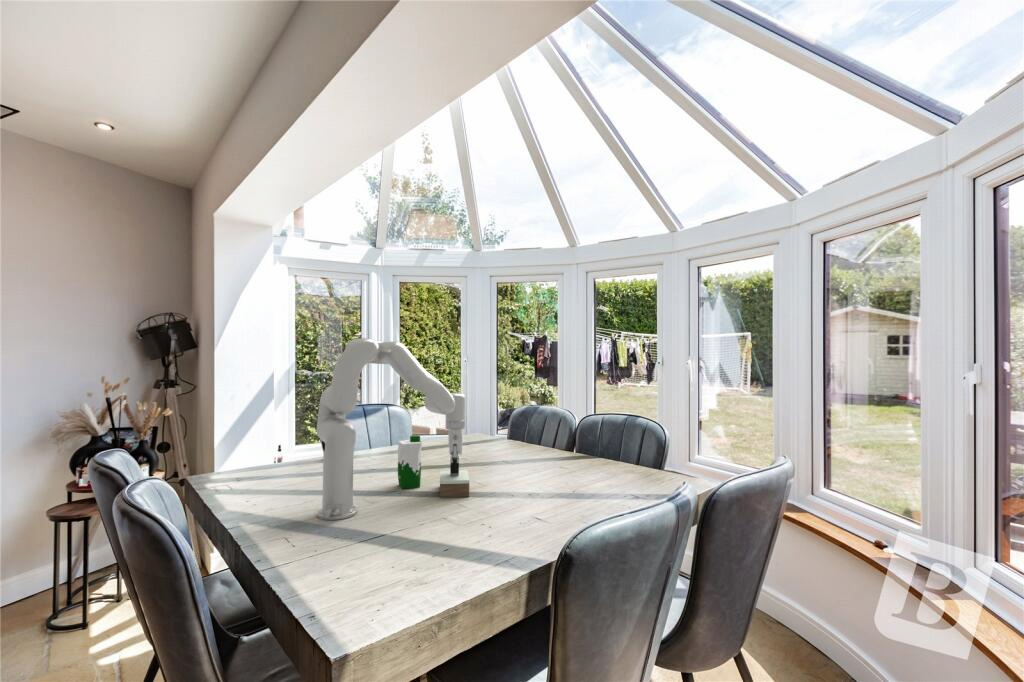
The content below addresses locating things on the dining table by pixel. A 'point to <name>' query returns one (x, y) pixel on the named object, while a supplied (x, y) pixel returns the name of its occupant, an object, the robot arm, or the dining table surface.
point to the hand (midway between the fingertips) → (454, 470)
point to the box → (454, 490)
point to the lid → (454, 476)
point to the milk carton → (409, 462)
